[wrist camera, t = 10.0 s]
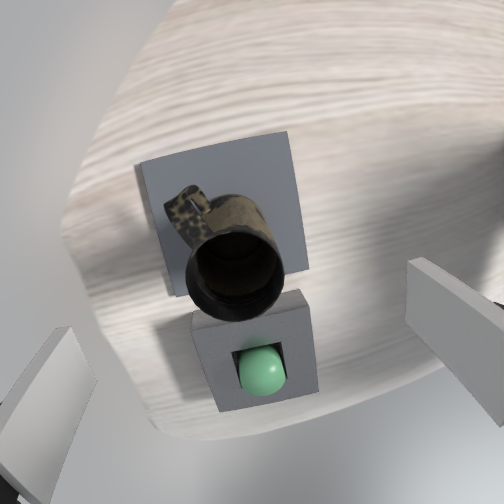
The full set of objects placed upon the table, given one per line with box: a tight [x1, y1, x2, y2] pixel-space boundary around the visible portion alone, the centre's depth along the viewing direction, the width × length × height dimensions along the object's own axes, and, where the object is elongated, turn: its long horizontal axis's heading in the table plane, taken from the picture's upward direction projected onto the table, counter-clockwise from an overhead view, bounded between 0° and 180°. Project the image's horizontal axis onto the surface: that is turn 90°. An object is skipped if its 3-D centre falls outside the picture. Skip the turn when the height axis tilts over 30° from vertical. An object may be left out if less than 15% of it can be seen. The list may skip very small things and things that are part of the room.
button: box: [238, 344, 285, 396], centre depth 27 cm, size 4×4×3 cm
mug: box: [163, 185, 285, 322], centre depth 20 cm, size 8×6×12 cm
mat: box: [141, 131, 309, 297], centre depth 27 cm, size 12×12×1 cm
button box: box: [190, 289, 319, 412], centre depth 29 cm, size 10×10×4 cm
